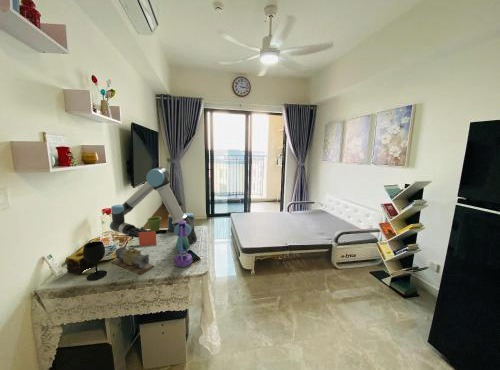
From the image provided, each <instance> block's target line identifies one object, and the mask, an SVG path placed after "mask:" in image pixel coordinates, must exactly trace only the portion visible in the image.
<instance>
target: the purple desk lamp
mask: <svg viewBox="0 0 500 370" xmlns="http://www.w3.org/2000/svg"><path fill="white" fill-rule="evenodd" d="M178 223H179V229H178V231H179V232H178V236H179V237H178V236H177V241H176V246H175V248H176V249H177V252H178V254H177V255H176V256H175V257H174V264H175V266H176V267H180V268H184V267H188V266H190V265H191V264H192V262H193V256H192V255H191V253H189V250H190V247H191V246H190V244H189V241H188V238H187V236H186V235H187V234H188V233H187V232H186V227H185V223H186V221H183V220H181V221H179V222H178Z"/></svg>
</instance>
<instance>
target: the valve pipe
mask: <svg viewBox="0 0 500 370" xmlns="http://www.w3.org/2000/svg"><path fill="white" fill-rule="evenodd" d="M114 251H115V257H116V258H115V259H118V258H119V261H120V262H122V263H123V262H124V263H126V264H129V265H131V266H132V265H134V264H135V267H136V268H137V269H140V268H142V267H144V266H146V265H147V264H150V258H149V257H150V256H149V254H142V253H141V250H139V249H137V248H134V249H131V250H129V249H128V248H126V246H122V247H119V248H116V249H115V250H114Z"/></svg>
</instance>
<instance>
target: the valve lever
mask: <svg viewBox="0 0 500 370" xmlns="http://www.w3.org/2000/svg"><path fill="white" fill-rule="evenodd" d="M157 243H158V242H157V231H151V230H150V231H148V232H139V238H138V244H135V245H134V244H133V245H131V244H130V245H128V247H127V249H128V250H131V249H141V248H151V247H153V248H154V247H157V246H158V245H157Z"/></svg>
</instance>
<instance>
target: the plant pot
mask: <svg viewBox="0 0 500 370" xmlns="http://www.w3.org/2000/svg"><path fill="white" fill-rule="evenodd" d="M161 220H162V217H161V216H152V217H148V218H147V219H146V221H147V223H148V225H149V230H150V232H151V231H156V232H158V231H160V227H161Z"/></svg>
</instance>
